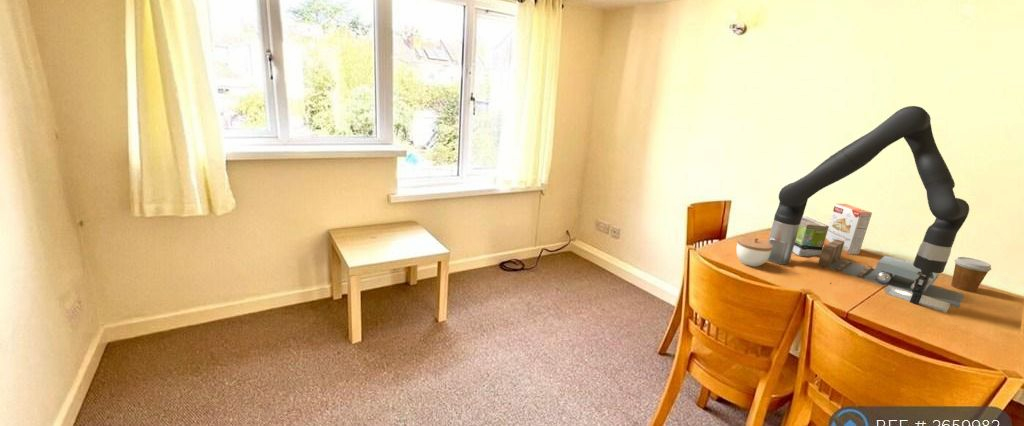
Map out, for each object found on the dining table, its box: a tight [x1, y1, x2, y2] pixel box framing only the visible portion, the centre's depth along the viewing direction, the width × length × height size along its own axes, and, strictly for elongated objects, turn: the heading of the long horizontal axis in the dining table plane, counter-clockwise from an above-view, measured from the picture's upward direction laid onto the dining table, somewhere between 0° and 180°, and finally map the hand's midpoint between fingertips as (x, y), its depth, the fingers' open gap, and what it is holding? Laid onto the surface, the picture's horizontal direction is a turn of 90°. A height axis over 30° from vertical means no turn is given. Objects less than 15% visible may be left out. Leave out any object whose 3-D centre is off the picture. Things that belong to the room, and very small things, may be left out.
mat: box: [827, 258, 965, 309], centre depth 163 cm, size 18×38×1 cm, turn 39°
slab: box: [875, 255, 940, 286], centre depth 159 cm, size 12×16×3 cm
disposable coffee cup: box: [950, 256, 992, 293], centre depth 158 cm, size 10×10×12 cm
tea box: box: [792, 215, 829, 258], centre depth 190 cm, size 15×10×15 cm
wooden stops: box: [817, 239, 873, 279], centre depth 172 cm, size 18×14×9 cm
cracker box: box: [823, 203, 873, 256], centre depth 193 cm, size 14×6×21 cm, turn 5°
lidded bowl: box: [735, 236, 773, 268], centre depth 172 cm, size 13×13×11 cm
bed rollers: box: [875, 271, 929, 293], centre depth 160 cm, size 16×14×4 cm
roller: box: [884, 285, 951, 314], centre depth 146 cm, size 16×4×4 cm, turn 39°
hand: (915, 301), depth 146 cm, fingers closed on roller, 4 cm apart
